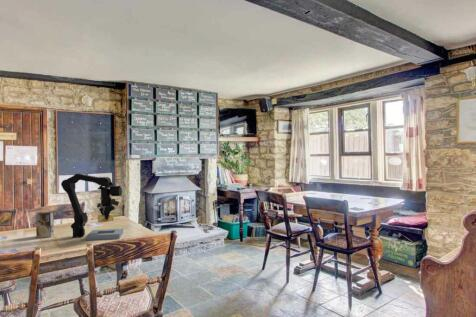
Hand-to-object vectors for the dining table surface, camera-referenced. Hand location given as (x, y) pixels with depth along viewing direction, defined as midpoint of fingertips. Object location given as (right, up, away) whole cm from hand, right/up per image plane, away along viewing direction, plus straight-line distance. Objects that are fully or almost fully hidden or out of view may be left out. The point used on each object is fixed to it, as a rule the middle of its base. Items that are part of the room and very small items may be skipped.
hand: (105, 219), depth 214 cm
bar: (0, -1, 0) cm, 1 cm away
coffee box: (-41, -12, +1) cm, 43 cm away
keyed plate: (0, -11, 0) cm, 11 cm away
